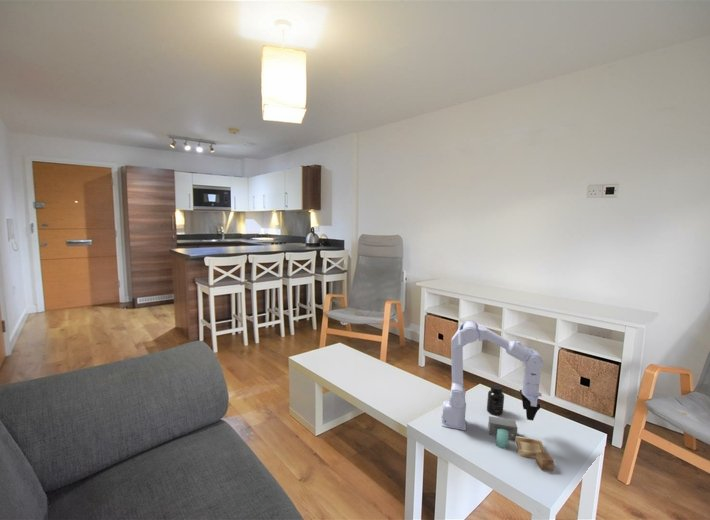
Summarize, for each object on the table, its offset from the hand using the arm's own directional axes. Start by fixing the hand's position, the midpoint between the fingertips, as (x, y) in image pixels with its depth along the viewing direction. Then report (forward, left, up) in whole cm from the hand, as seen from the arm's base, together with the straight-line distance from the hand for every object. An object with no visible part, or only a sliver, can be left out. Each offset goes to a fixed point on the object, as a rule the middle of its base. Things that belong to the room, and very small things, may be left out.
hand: (528, 414), depth 140 cm
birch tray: (0, -8, -10) cm, 13 cm away
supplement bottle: (-10, +16, -10) cm, 22 cm away
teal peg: (-10, -8, -10) cm, 16 cm away
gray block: (-9, 0, -10) cm, 13 cm away
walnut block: (+3, -16, -10) cm, 19 cm away
